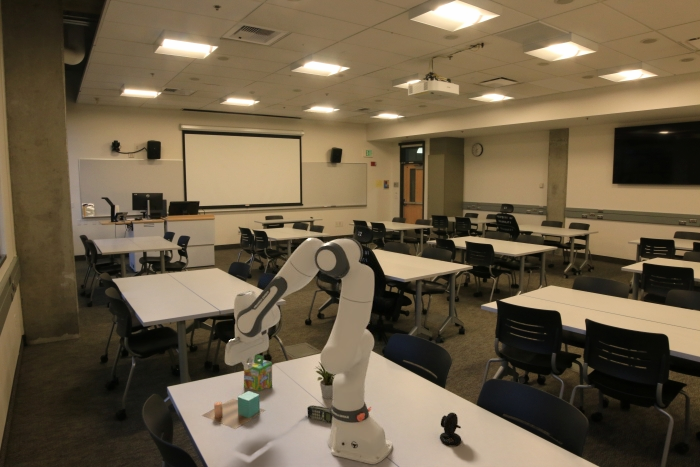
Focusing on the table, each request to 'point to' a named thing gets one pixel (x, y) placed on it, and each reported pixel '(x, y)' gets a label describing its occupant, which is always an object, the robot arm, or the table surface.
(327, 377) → the house plant
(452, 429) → the webcam
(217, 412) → the terracotta peg
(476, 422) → the table surface
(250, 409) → the mint green cube
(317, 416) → the mobile phone
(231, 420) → the walnut board
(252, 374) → the chalk box
